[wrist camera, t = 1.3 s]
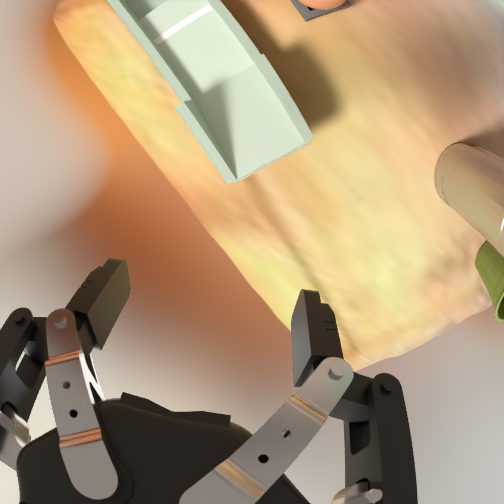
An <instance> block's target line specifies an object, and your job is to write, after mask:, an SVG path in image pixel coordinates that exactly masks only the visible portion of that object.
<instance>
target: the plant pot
mask: <svg viewBox="0 0 504 504" xmlns="http://www.w3.org/2000/svg"><path fill="white" fill-rule="evenodd" d="M475 264H476V268H477V270H478V272H479V274H480V276H481V278H482V280H483V282H484V284H485V286H486V288H487V290H488V292H489V294H490V296H491V299H492V303H493V305H494V308H495V316H496V319H497V320H498V321H500V322H504V257H503V256H502V255H501V254H500V253H499V252H498V251H497V250H496V249H495V248H494V247H493V246H492V245H491V244H490V243H489V242H488V241H487V242H485V243H484V244H483V246H482V247H481V248H480V250H479V252H478V254H477V260H476V262H475Z"/></svg>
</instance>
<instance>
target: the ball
mask: <svg viewBox="0 0 504 504" xmlns="http://www.w3.org/2000/svg"><path fill="white" fill-rule="evenodd" d="M298 1H299V2H301V3H302V4H304V5H306V6H308V7H311V8H314V9H320V10H328V9H333V8H336V7H338V6H340V5H342V4H343V3H344V2H345V1H346V0H298Z"/></svg>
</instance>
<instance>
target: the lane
mask: <svg viewBox="0 0 504 504" xmlns="http://www.w3.org/2000/svg"><path fill="white" fill-rule="evenodd" d="M107 1H108V2H109V3H110V5H111V6H112V7H113V9H114V10H115V11H116V13H117V14H118V15H119V17H120V18H121V19H122V20H123V22H124V23H125V24H126V26H127V27H128V28H129V30H130V31H131V33H132V34H133V35H134V37H135V38H136V39H137V41H138V42H139V43H140V45H141V46H142V47H143V49H144V50H145V51H146V53H147V54H148V56H149V57H150V58H151V60H152V61H153V63H154V64H155V65H156V67H157V68H158V69H159V71H160V72H161V74H162V75H163V76H164V78H165V79H166V81H167V82H168V83H169V85H170V86H171V88H172V89H173V91H174V92H175V93H176V95H177V96H178V98H179V99H180V100H181V102H182V103H180V104H179V105H177V106H176V107H175V109H176V110H177V112H178V113H179V115H180V116H181V118H182V119H183V120H184V122H185V123H186V125H187V126H188V128H189V129H190V130H191V132H192V133H193V135H194V136H195V138H196V139H197V141H198V142H199V144H200V145H201V146H202V148H203V149H204V151H205V152H206V154H207V155H208V157H209V158H210V160H211V161H212V163H213V164H214V165H215V167H216V168H217V170H218V171H219V173H220V174H221V176H222V177H223V179H224V180H225V182H226V183H227V185H228V184H230V183H232V182H235V183H238V182H240V181H242V180H244V179H245V178H247V177H249V176H251V175H253V174H254V173H256V172H258V171H260V170H262V169H264V168H265V167H267V166H269V165H271V164H273V163H275V162H277V161H279V160H280V159H282V158H284V157H286V156H288V155H290V154H292V153H294V152H296V151H298V150H300V149H302V148H304V147H306V146H308V145H310V143H309V141H310V140H312V139H314V136H313V134H312V132H311V130H310V129H309V127H308V125H307V123H306V121H305V120H304V118H303V116H302V114H301V113H300V111H299V109H298V107H297V106H296V104H295V102H294V101H293V99H292V97H291V96H290V94H289V92H288V91H287V89H286V87H285V86H284V84H283V83H282V81H281V79H280V78H279V76H278V75H277V73H276V72H275V70H274V69H273V67H272V66H271V64H270V63H269V61H268V60H267V58H266V57H265V55H264V54H260V52H259V51H258V49H257V48H256V47H255V45H254V44H253V42H252V41H251V40H250V38H249V37H248V35H247V34H246V33H245V31H244V30H243V29H242V27H241V26H240V25H239V23H238V22H237V21H236V19H235V18H234V17H233V16H232V14H231V13H230V12H229V11H228V9H227V8H226V7H225V6H224V4H223V3H222V2H221V1H220V0H107Z"/></svg>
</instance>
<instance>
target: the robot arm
mask: <svg viewBox="0 0 504 504" xmlns="http://www.w3.org/2000/svg"><path fill="white" fill-rule="evenodd" d="M435 186H436V190H437V193H438V194H439V196H440V198H441V199H442V200H443V201H444V202H445V203H447V204H448V205H449V206H450V207H451V208H453V209H454V210H455V211H456V212H457V213H458V214H459V215H461V216H462V217H463V218H464V219H465V220H466V221H467V222H468V223H469V224H471V225H472V226H473V227H474V228H475V229H476V230H477V231H478V232H479V233H480V234H481V235H482V236H483V237H484V238H485V239H486V240H487V241H488V242H489V243H490V244H491V245H492V246H493V247H494V248H495V249H496V250H497V251H498V252H499V253H500V254H501V255H502V256H503V257H504V158H502V157H500V156H498V155H496V154H494V153H492V152H490V151H488V150H486V149H483V148H481V147H479V146H477V145H474V146H469V145H467V144H464V143H456V144H453V145H451V146H450V147H448V148H447V149H446V150H445V151H444V152H443V153H442V155H441V157H440V158H439V160H438V163H437V166H436V170H435ZM129 294H130V282H129V276H128V269H127V264H126V261H125V260H120V259H114V258H109V259H108V260H107V262H106V263H105V265H104V266H103V267H100V266H99V267H98V268H96V269H95V270H94V271H92V272H91V273H90V274H89V275H88V277H87V278H86V279H85V281H84V282H83V283H82V285H81V287H80V288H79V289H78V290H77V292H76V293H75V295H74V296H73V297H72V299H71V300H70V302H69V303H68V305H67V306H66V307H65V309H63V308H61V309H57V310H55V311H53V312H52V313H50V315H49V316H48V317H33V315H32V313H31V311H30V310H29V309H27V308H19V309H16V310H15V311H13V312H12V313H11V314H10V316H9V317H8V319H7V320H6V322H5V324H4V325H3V327H2V328H1V330H0V460H1V461H2V462H4V463H5V464H7V465H8V466H9V467H11V468H12V469H14V470H16V471H17V477H18V482H19V490H20V502H19V504H310V503H309V502H308V501H307V499H306V498H305V497H304V496H303V495H302V494H301V493H300V492H299V490H298V489H297V488H296V487H295V486H294V485H293V483H292V482H291V481H290V480H289V479H288V478H287V477H286V475H285V474H284V472H285V471H286V470H287V468H288V467H289V466H290V465H291V464H292V463H293V462H294V460H295V459H296V458H297V457H298V456H299V454H300V453H301V452H302V451H303V450H304V449H305V447H306V446H307V445H308V444H309V442H310V441H311V440H312V439H313V437H314V436H315V435H316V433H317V432H318V431H319V430H320V428H321V427H322V426H323V424H324V423H325V421H326V420H327V417H328V416H331V417H335V418H338V419H341V420H344V439H345V489H342V490H340V491H339V492H338V493H337V494H336V495H335V496H334V498H333V500H332V504H418V500H417V484H416V473H415V465H414V464H415V463H414V455H413V448H412V441H411V434H410V428H409V422H408V417H407V411H406V407H405V401H404V396H403V391H402V387H401V384H400V382H399V381H398V379H396V378H395V377H394V376H393V375H390V374H388V373H381V374H378V375H376V376H375V378H374V379H373V378H369V377H366V376H363V375H360V374H357V373H355V372H353V369H352V367H351V366H350V364H349V363H348V362H346V361H345V360H344V358H343V353H342V348H341V343H340V338H339V333H338V331H337V330H338V329H337V324H336V319H335V315H334V312H333V311H332V309H331V308H330V306H329V305H328V304H324V303H321V300H320V295H319V292H318V291H312V290H305V289H302V290H301V291H300V294H299V297H298V300H297V303H296V306H295V309H294V312H293V315H292V321H291V332H292V350H293V371H294V386H295V387H301V388H300V389H299V390H298V391H297V392H296V393H295V394H294V395H292V396H291V397H290V398H289V399H288V400H287V401H286V402H285V403H284V404H283V405H282V406H281V407H280V408H279V409H278V410H277V411H276V412H275V413H274V414H273V416H272V417H271V418H270V419H269V420H268V421H267V422H266V423H265V424H264V425H263V426H262V427H261V428H260V429H259V430H258V431H257V432H256V433H255V434H254V435H252V434H251V433H250V432H249V431H247V430H246V429H244V428H243V427H241V426H239V425H237V424H235V423H232V422H230V417H231V415H225V414H217V413H211V412H205V411H196V412H195V411H194V412H173V411H170V410H168V409H166V408H164V407H162V406H160V405H158V404H156V403H154V402H152V401H150V400H148V399H146V398H142V397H138V396H135V395H131V394H127V393H125V392H123V393H122V395H121V398H116V399H115V398H114V399H107V400H106V398H105V396H104V394H103V392H102V389H101V387H100V383H99V380H98V377H97V373H96V370H95V367H94V363H93V359H92V356H91V351H92V349H93V348H96V349H99V350H102V348H103V346H104V344H105V342H106V340H107V338H108V336H109V334H110V332H111V330H112V328H113V326H114V324H115V322H116V320H117V318H118V316H119V314H120V312H121V311H122V309H123V307H124V305H125V303H126V301H127V299H128V297H129ZM23 350H24V352H25V355H24V357H23V359H22V361H21V363H20V365H19V367H18V369H17V371H16V370H15V368H16V364H17V362H18V360H19V358H20V356H21V354H22V352H23ZM45 376H47V382H48V388H49V394H50V399H51V404H52V409H53V413H54V417H55V422H56V425H57V427H56V428H54V429H52V430H50V431H49V432H47V433H45V434H43V435H42V436H40V437H38V438H36V439H35V440H33V441H31V436H30V434H29V428H28V425H27V421H28V419H29V416H30V413H31V411H32V408H33V405H34V403H35V400H36V398H37V395H38V393H39V390H40V388H41V385H42V383H43V381H44V378H45ZM30 441H31V442H30Z"/></svg>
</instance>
